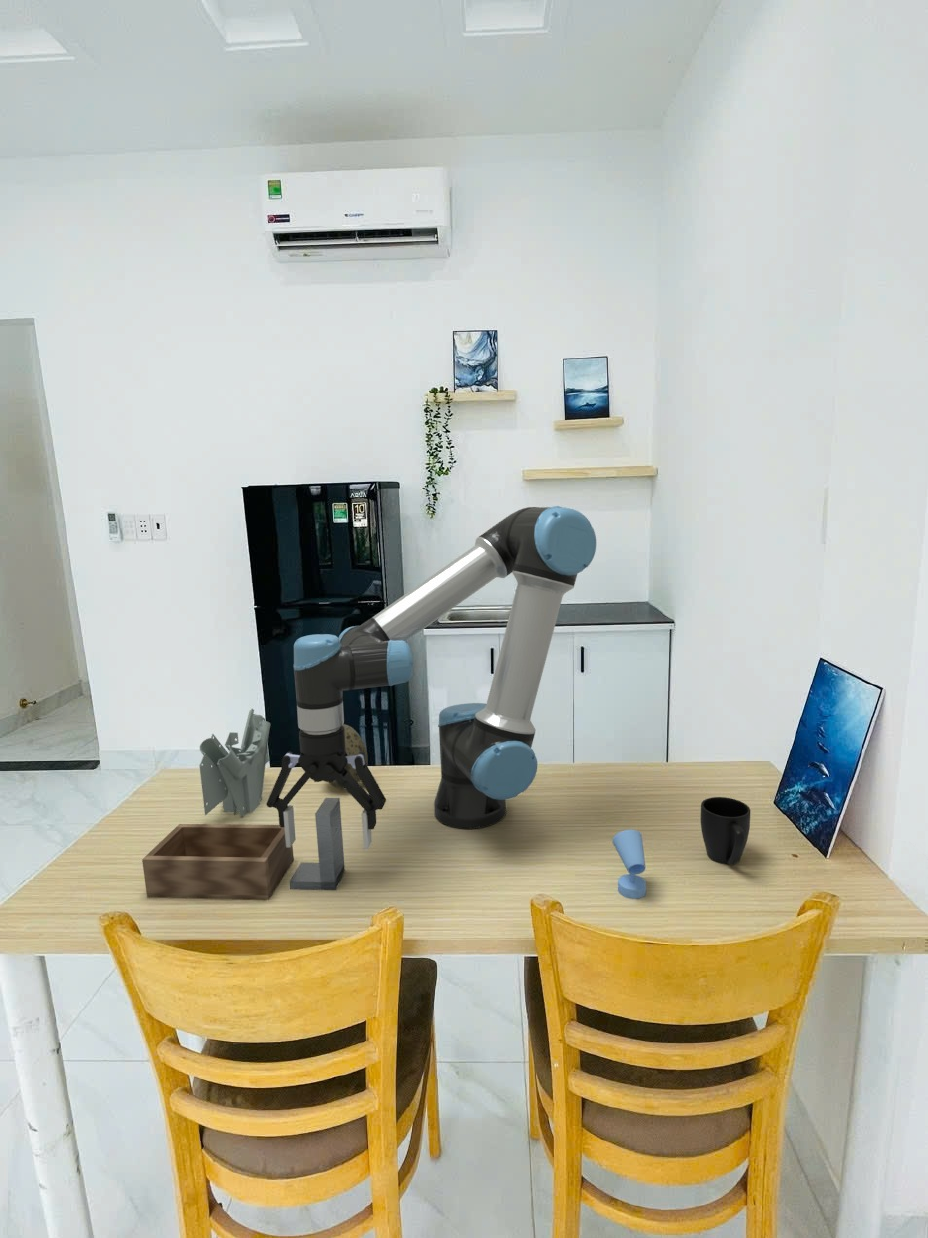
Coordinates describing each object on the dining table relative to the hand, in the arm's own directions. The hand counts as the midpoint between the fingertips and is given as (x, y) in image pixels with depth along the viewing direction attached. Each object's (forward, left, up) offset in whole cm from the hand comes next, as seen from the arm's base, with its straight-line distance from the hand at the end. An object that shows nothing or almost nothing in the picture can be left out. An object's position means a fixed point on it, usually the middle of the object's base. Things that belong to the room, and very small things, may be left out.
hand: (329, 844), depth 115 cm
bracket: (+28, -27, -7) cm, 39 cm away
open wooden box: (+20, 0, -7) cm, 21 cm away
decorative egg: (+8, -38, -7) cm, 40 cm away
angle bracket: (+3, 0, -7) cm, 7 cm away
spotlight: (-51, +1, -7) cm, 52 cm away
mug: (-69, -8, -7) cm, 70 cm away
